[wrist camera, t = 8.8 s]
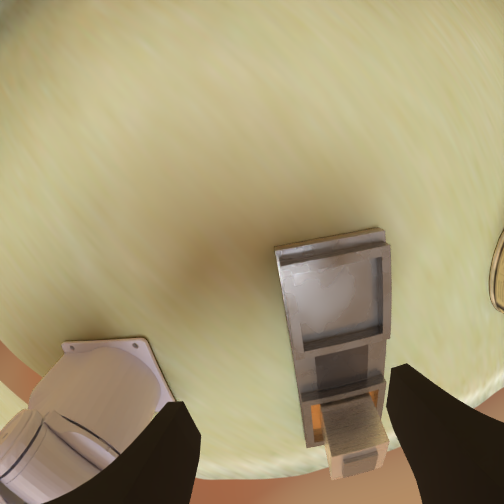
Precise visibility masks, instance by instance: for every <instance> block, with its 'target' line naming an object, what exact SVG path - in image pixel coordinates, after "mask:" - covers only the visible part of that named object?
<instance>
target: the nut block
mask: <svg viewBox="0 0 504 504" xmlns="http://www.w3.org/2000/svg"><path fill="white" fill-rule="evenodd" d="M319 408H320V421H321V430H322V435H323V439H324V445H325V450H326V455H327V460H328V465H329V470H330V476H331V480H335V479H339V478H345V477H349V476H353V475H356V474H360V473H364V472H368V471H371V470H374V469H376V468H380V467H382V465H383V462H384V459H385V455H386V452H387V449H388V445H389V439H388V436H387V434H386V432H385V429H384V427H383V424H382V422H381V419H380V417H379V415H378V412H377V410H376V407H375V405H374V403H373V400H372V398H371V396H370V393H369V392H368V393H364V394H360V395H356V396H353V397H349V398H344V399H340V400H336V401H331V402H327V403H322V404H319Z"/></svg>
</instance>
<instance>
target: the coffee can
mask: <svg viewBox="0 0 504 504" xmlns="http://www.w3.org/2000/svg"><path fill="white" fill-rule="evenodd" d="M489 284H490V298H491V301H492V304H493V306H494V307H495V309H496V310H498V311H500V312H502V313H503V314H504V231H503V232H502V235H501V236H500V238H499V241H498V244H497V247H496V249H495V253H494V256H493V260H492V265H491V271H490V280H489Z"/></svg>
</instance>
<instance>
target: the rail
mask: <svg viewBox="0 0 504 504" xmlns="http://www.w3.org/2000/svg"><path fill="white" fill-rule="evenodd" d="M274 249H275V255H276V260H277V266H278V271H279V277H280V283H281V288H282V294H283V300H284V305H285V311H286V317H287V323H288V329H289V335H290V341H291V347H292V353H293V359H294V366H295V372H296V378H297V385H298V391H299V398H300V405H301V412H302V418H303V425H304V432H305V439H306V447H307V448H310V447H315V446H320V445H324V439H323V435H322V430H321V421H320V408H319V404H322V403H327V402H331V401H336V400H340V399H344V398H349V397H353V396H356V395H360V394H364V393H368V392H369V393H370V396H371V398H372V400H373V403H374V405H375V407H376V410H377V412H378V415H379V417H380V419H381V416H382V410H383V403H384V396H385V389H386V381H385V379H384V367H385V355H386V339H390V331H391V252H390V245H389V244H388V243H386V239H385V230H383V229H381V228H379V227H378V228H373V229H367V230H362V231H356V232H351V233H346V234H340V235H335V236H329V237H324V238H319V239H313V240H308V241H302V242H297V243H292V244H286V245H281V246H275V247H274Z"/></svg>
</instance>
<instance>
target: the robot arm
mask: <svg viewBox="0 0 504 504" xmlns="http://www.w3.org/2000/svg"><path fill="white" fill-rule="evenodd" d="M135 343H136V344H138V346H137V345H135ZM61 346H62V349H63V351H64V353H65V354H64V355H63V356H62V357H61V358H60V359H59V360H58V361H57V363H56V364H55V365H54V366H53V367H52V368H51V369H50V370H49V371H48V373H47V374H46V375H45V376H44V377H43V378H42V379H41V380H40V382H39V383H38V384H37V385H36V386H35V388H34V389H33V390H32V393H31V395H30V398H29V405H28V409H23V410H21V411H20V412H19V413H17V414H16V415H15V416H14V417H13V418H12V419H11V420H10V421H9V422H8V423H7V424H6V426H5V427H4V428H3V429H2V430H1V431H0V504H189V502H190V498H191V494H192V489H193V485H194V480H195V476H196V472H197V467H198V462H199V457H200V444H201V434H200V432H199V430H198V429H197V427H196V425H195V423H194V421H193V419H192V417H191V416H190V414H189V412H188V410H187V408H186V406H185V404H184V402H183V401H182V402H175V400H174V398H173V396H172V394H171V392H170V390H169V388H168V386H167V384H166V381H165V379H164V377H163V375H162V373H161V371H160V369H159V367H158V364H157V362H156V360H155V358H154V355H153V353H152V351H151V349H150V346H149V344H148V342H147V340H145V339H144V338H129V339H114V340H95V341H65V342H63V343H62V344H61ZM386 408H387V411H388V414H389V417H390V420H391V423H392V427H393V429H394V432H395V434H396V436H397V438H398V440H399V443H400V445H401V447H402V449H403V451H404V453H405V456H406V458H407V460H408V462H409V464H410V466H411V469H412V471H413V473H414V476H415V478H416V481H417V485H418V488H419V492H420V496H421V499H422V504H504V423H503V422H501V421H498V420H496V419H493V418H491V417H489V416H487V415H485V414H482V413H480V412H478V411H477V410H475V409H473V408H471V407H469V406H468V405H466V404H464V403H463V402H461V401H459V400H458V399H456V398H455V397H453V396H452V395H450V394H449V393H447V392H446V391H444V390H443V389H441V388H440V387H438V386H437V385H436V384H434V383H433V382H432V381H430V380H429V379H427V378H426V377H425V376H423V375H422V374H421V373H419V372H418V371H417V370H415V369H414V368H413V367H411V366H410V365H409V364H407V363H406V364H403V365H400V366H397V367H394V368H391V375H390V383H389V391H388V398H387V404H386ZM154 412H159V413H158V414H157V415H156V416H155V417H154V418H153V420H152V417H153V414H154ZM151 420H152V421H151Z"/></svg>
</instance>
